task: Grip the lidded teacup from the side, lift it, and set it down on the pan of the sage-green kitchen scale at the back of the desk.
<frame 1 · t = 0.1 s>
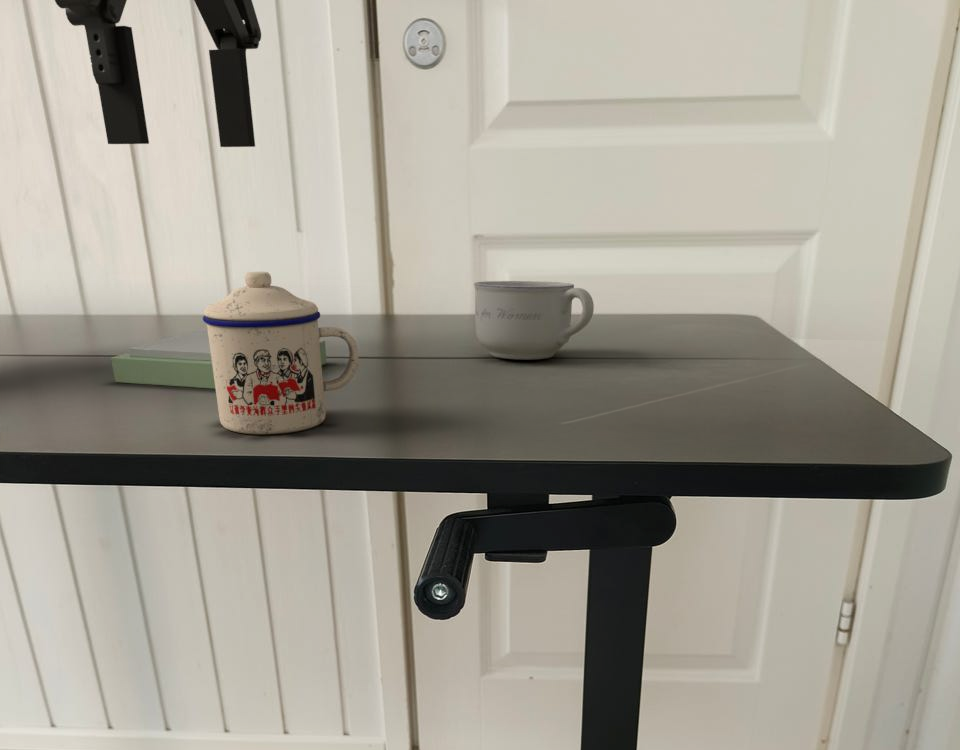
hand: (188, 146, 67), 20 cm above the table, tool pointing down, fingers open, 13 cm apart
teacup: (533, 360, 101), on the table
teacup with lid: (291, 423, 77), on the table
scale: (225, 372, 96), on the table
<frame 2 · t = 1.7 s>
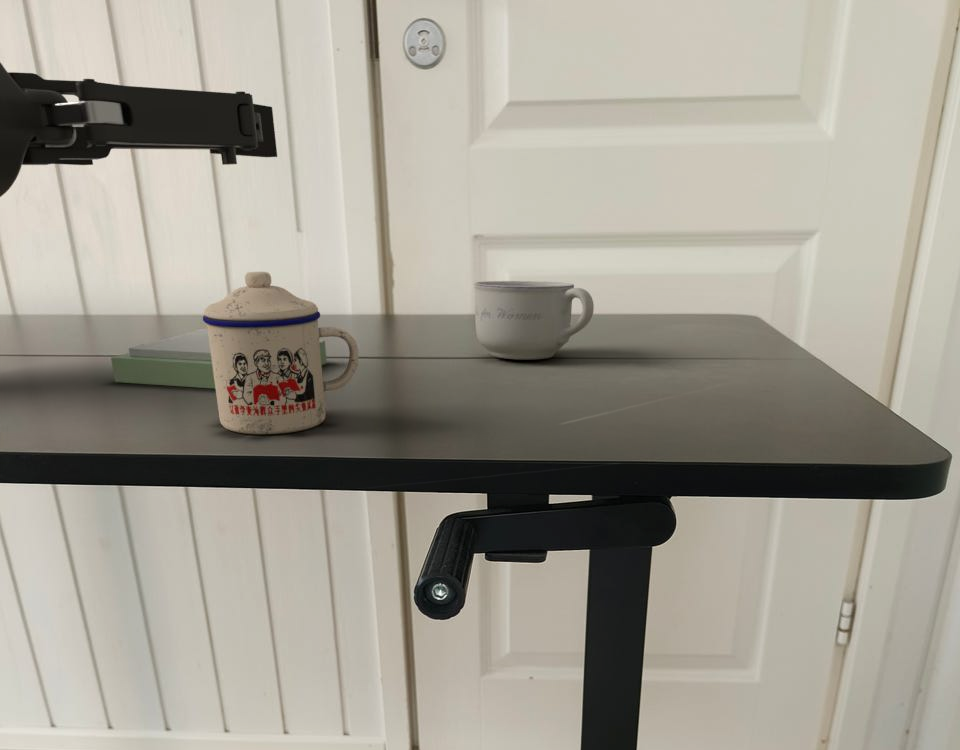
hand: (174, 137, 58), 21 cm above the table, tool horizontal, fingers open, 13 cm apart
nothing on the table moved.
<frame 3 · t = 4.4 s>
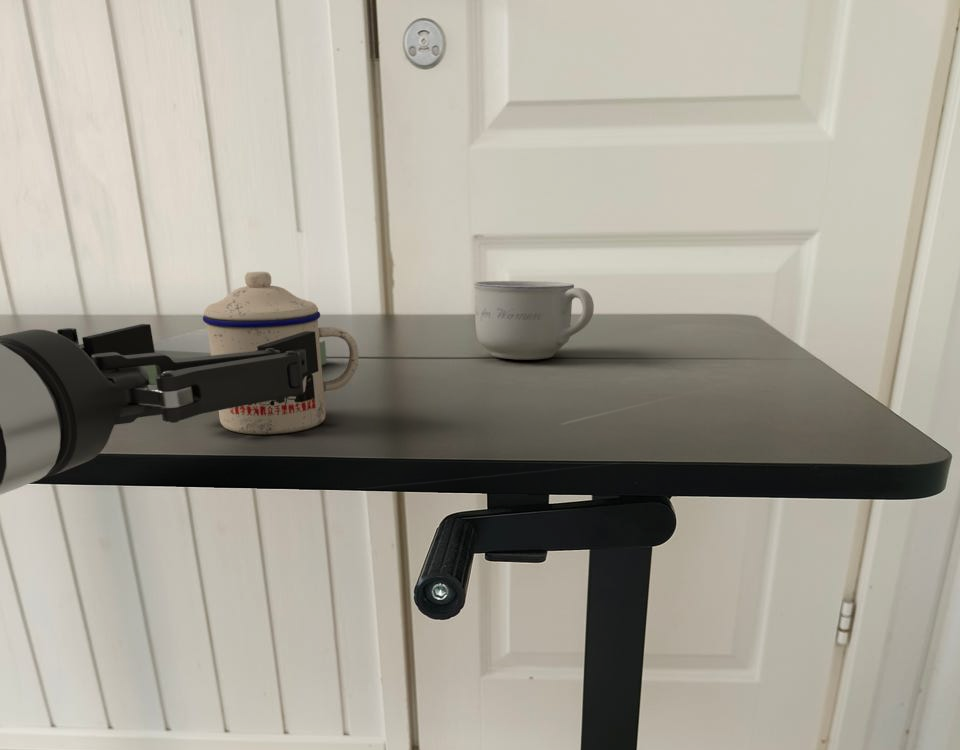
hand: (228, 346, 66), 7 cm above the table, tool horizontal, fingers open, 13 cm apart
nothing on the table moved.
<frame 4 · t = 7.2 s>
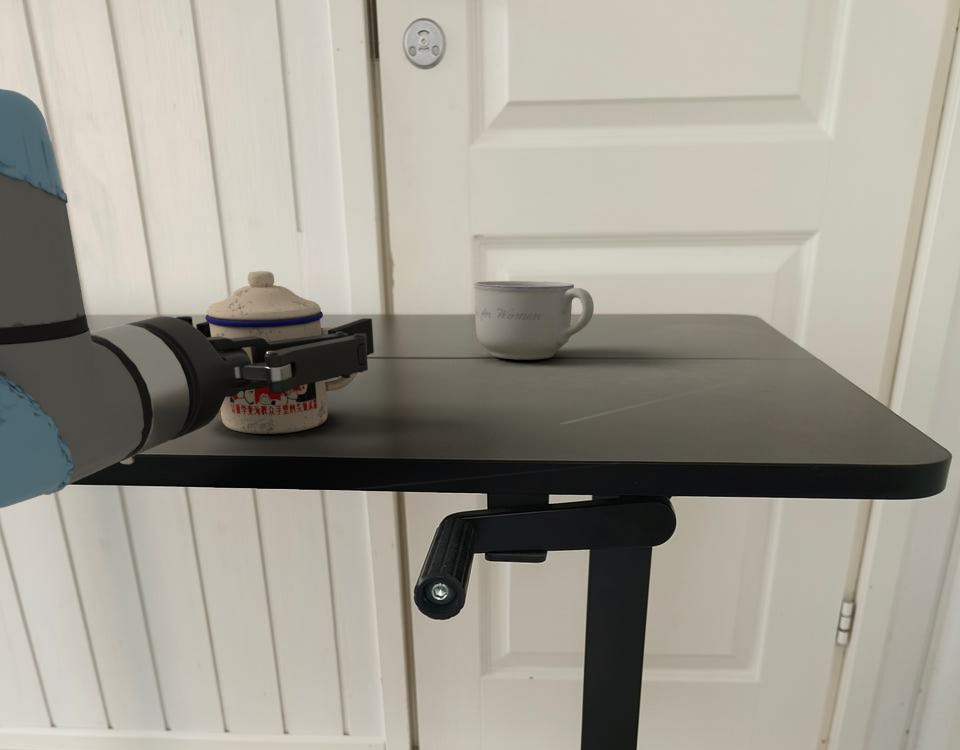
hand: (305, 332, 77), 7 cm above the table, tool horizontal, fingers closed on teacup with lid, 11 cm apart
teacup with lid: (293, 423, 77), on the table, touching gripper
everything else where it was.
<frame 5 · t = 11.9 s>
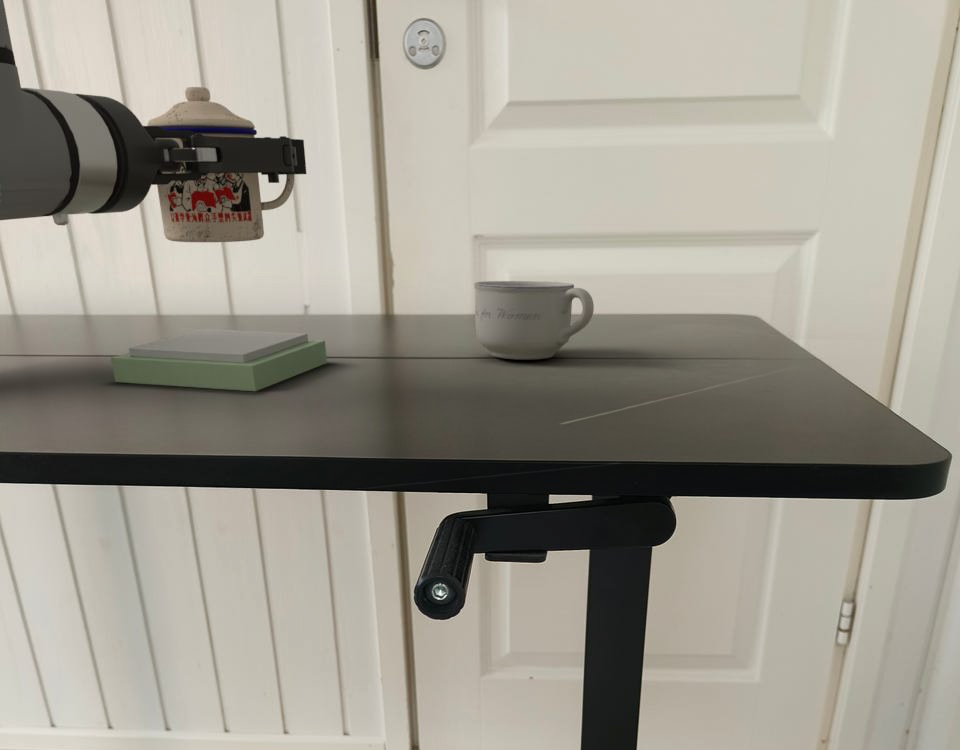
hand: (244, 157, 83), 20 cm above the table, tool horizontal, fingers closed on teacup with lid, 11 cm apart
teacup with lid: (232, 241, 82), point 13 cm above the table, touching gripper
everything else where it was.
when the fingers open (10 cm above the table, at t = 16.5 s): teacup with lid stays where it is, resting on scale.
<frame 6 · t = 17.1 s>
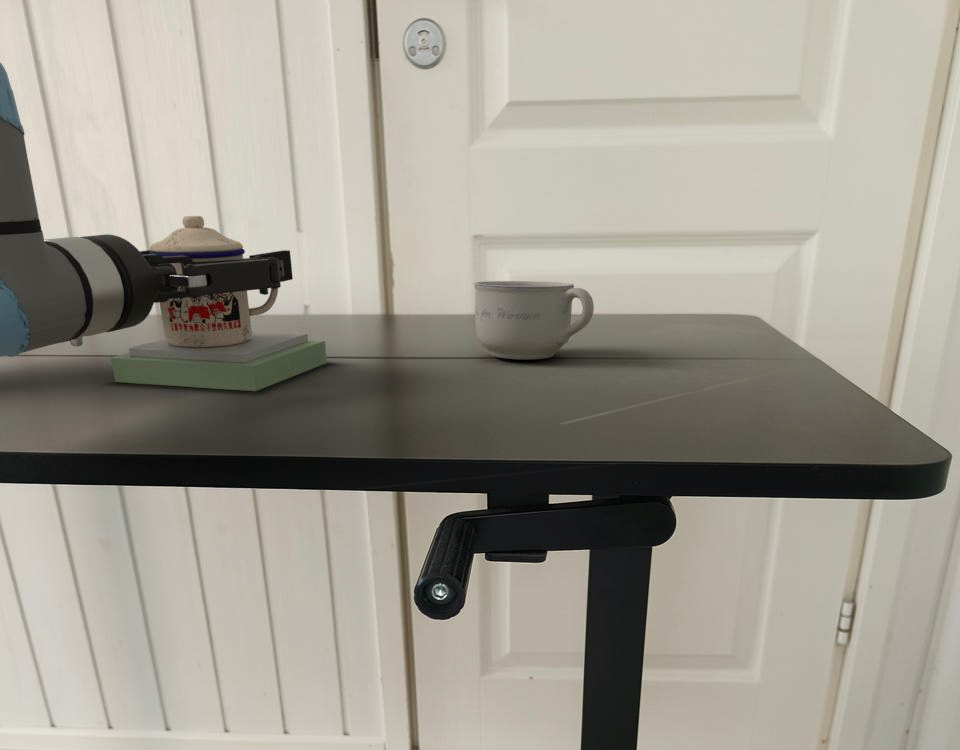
hand: (229, 263, 94), 10 cm above the table, tool horizontal, fingers open, 13 cm apart
teacup with lid: (224, 342, 94), point 3 cm above the table, touching scale
everything else where it was.
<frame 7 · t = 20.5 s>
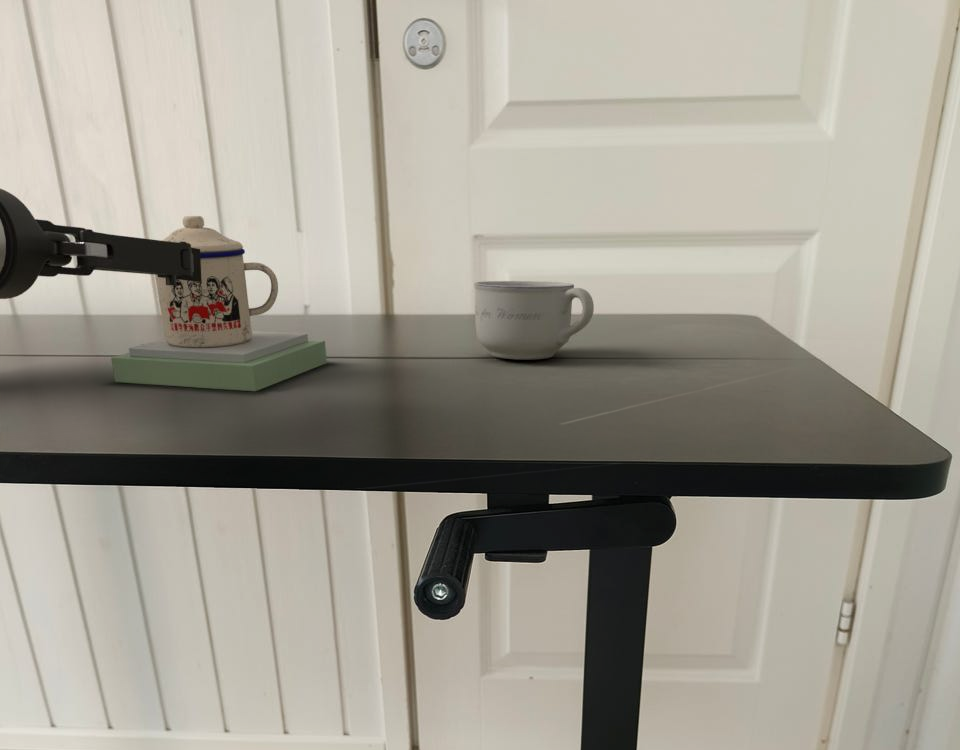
hand: (126, 261, 83), 11 cm above the table, tool horizontal, fingers open, 13 cm apart
nothing on the table moved.
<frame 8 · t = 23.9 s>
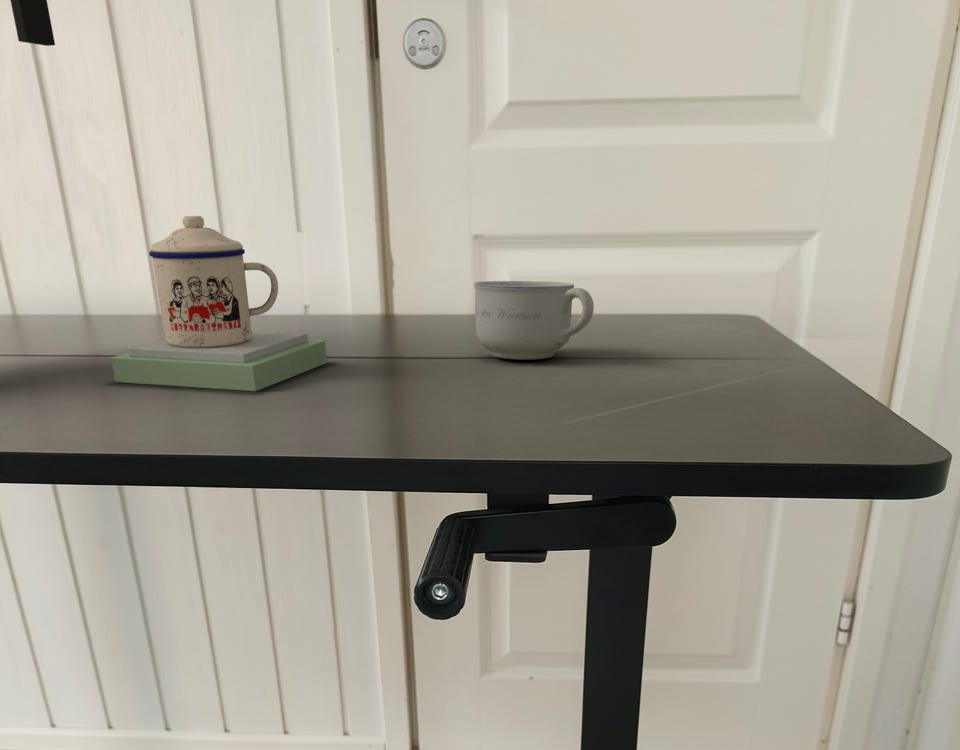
nothing on the table moved.
at the end: teacup with lid inside the target area on the scale (0.3 cm from its centre), point 3.0 cm above the scale's base; teacup with lid tilted 0°; the gripper is holding nothing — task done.
